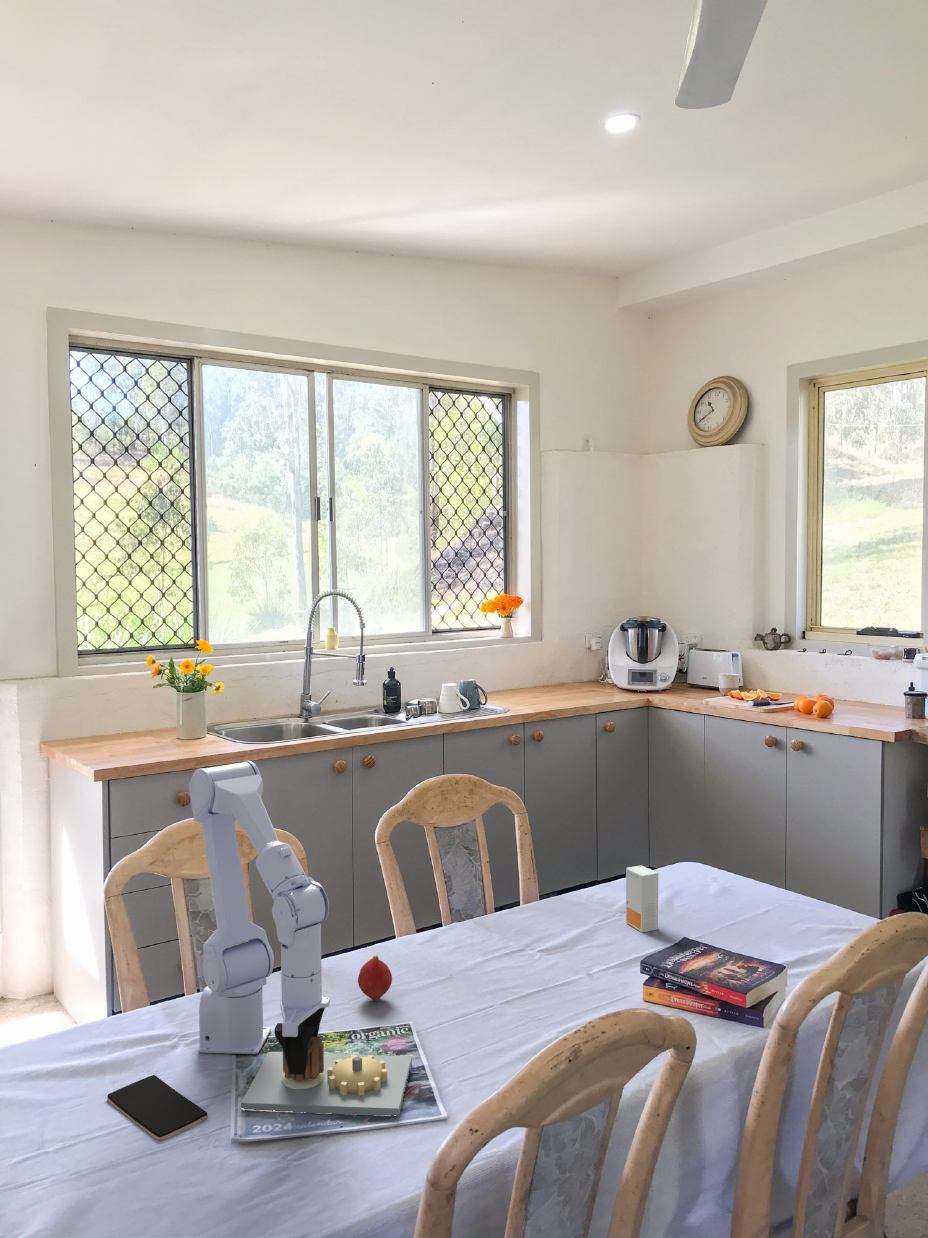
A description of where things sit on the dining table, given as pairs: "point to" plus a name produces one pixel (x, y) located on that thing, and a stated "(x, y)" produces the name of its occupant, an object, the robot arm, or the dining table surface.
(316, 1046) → the walnut gear
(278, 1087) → the gear board
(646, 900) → the skincare box
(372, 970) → the onion
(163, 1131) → the smartphone
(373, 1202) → the dining table surface
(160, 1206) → the dining table surface
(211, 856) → the robot arm
